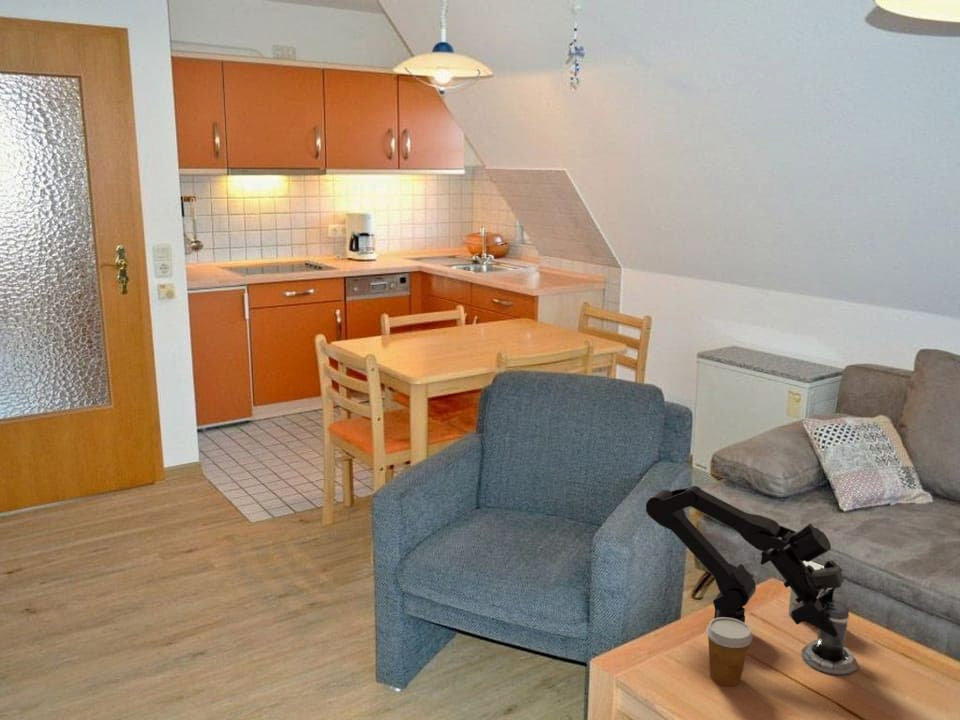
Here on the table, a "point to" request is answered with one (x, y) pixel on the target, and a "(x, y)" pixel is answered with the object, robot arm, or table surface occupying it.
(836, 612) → the lens
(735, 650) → the disposable coffee cup
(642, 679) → the table surface
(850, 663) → the mount ring
